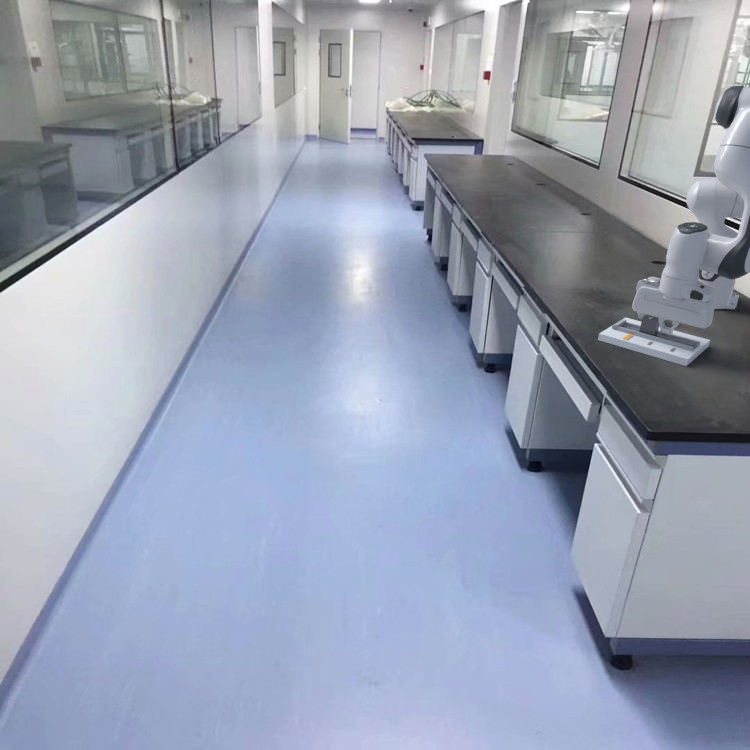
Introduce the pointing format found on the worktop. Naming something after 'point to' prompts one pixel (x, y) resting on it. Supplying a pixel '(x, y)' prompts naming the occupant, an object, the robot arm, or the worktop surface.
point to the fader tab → (649, 325)
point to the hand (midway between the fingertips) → (665, 334)
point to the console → (655, 342)
